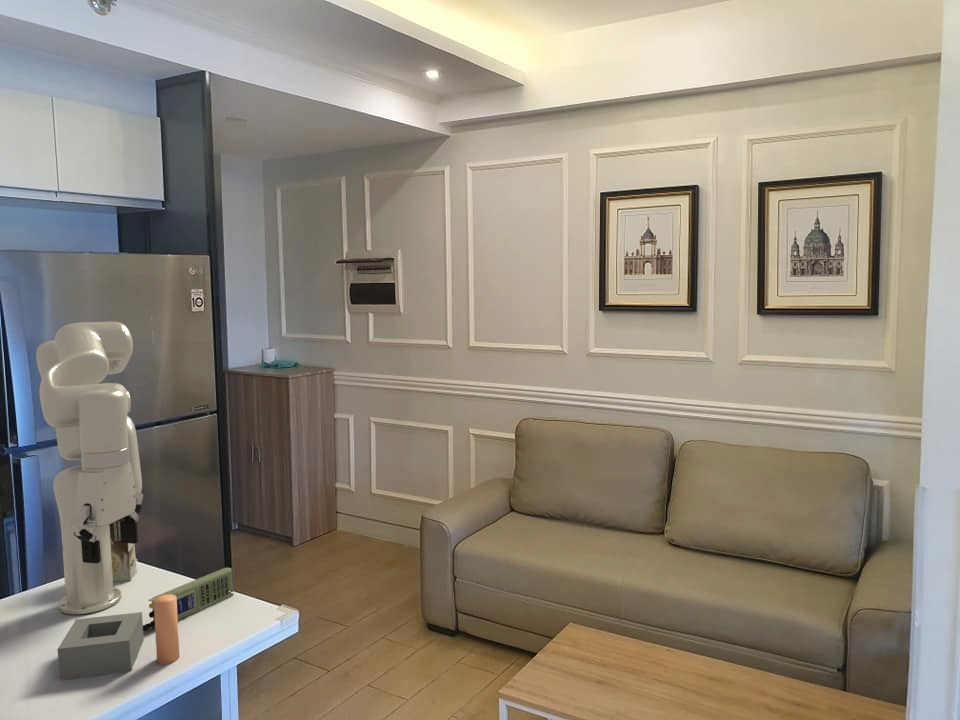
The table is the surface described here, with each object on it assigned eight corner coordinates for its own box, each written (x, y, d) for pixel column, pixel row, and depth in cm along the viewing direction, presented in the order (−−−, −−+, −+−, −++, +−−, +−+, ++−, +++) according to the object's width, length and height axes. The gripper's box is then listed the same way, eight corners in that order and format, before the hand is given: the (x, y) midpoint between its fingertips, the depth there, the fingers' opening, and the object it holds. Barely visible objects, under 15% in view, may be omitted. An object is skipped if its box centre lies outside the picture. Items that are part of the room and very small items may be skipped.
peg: (158, 654, 140) (155, 595, 139) (180, 652, 142) (177, 593, 140) (155, 665, 137) (151, 604, 135) (177, 662, 138) (174, 602, 136)
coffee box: (137, 571, 182) (134, 509, 180) (130, 581, 175) (127, 517, 174) (98, 574, 180) (94, 511, 178) (89, 584, 173) (85, 519, 172)
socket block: (78, 648, 143) (76, 619, 142) (143, 640, 146) (141, 612, 146) (59, 680, 132) (57, 648, 131) (131, 670, 135) (129, 640, 134)
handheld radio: (235, 596, 167) (136, 642, 146) (226, 594, 169) (126, 638, 148) (234, 568, 167) (133, 610, 145) (224, 566, 168) (123, 607, 147)
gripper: (120, 447, 137) (125, 534, 139) (49, 470, 120) (56, 569, 122) (155, 448, 135) (160, 537, 137) (88, 472, 118) (95, 572, 120)
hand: (111, 552), depth 129 cm, fingers open, 9 cm apart
